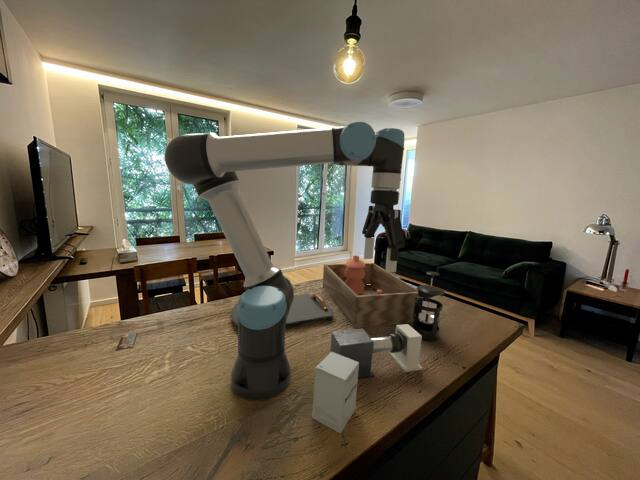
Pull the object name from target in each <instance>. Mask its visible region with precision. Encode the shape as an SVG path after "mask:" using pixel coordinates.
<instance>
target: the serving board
mask: <svg viewBox="0 0 640 480" xmlns="http://www.w3.org/2000/svg"><path fill="white" fill-rule="evenodd" d="M237 306H238V302H236V303H235V304H234V305H233V307H232V309H231V313H230V317H231V320H232V322H233V323H234V325H236V327H238V317H237ZM333 316H334V312H333V309H332V307H331V306H330V304H329V303H328V302H326V301H325V300H324V299H323V297H322V296H321V295H320V294H318V293H315V294H310V293H305V294H298V295H295V294H294V298H293V302H292V305H291V308H290V311H289V314H288V317H287V320H286V325H285V326H288V325H293V324H298V323H305V322H310V321H316V320H320V319H325V320H327V321H328V320H329V321H330V320H331V319H332V317H333Z"/></svg>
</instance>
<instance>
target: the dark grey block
mask: <svg viewBox="0 0 640 480" xmlns="http://www.w3.org/2000/svg"><path fill="white" fill-rule="evenodd" d="M371 338H372V337H370V336H369V334H368V333H367V332H366V331H365V329H363V328H353V329H344V330H334V331H331V338H330V339H331V340H330V352H334V353H336V354H339V355H341V356H344V357H347V358H349V359H352V360H354V361H357V362H359V370H358V380H363V379H370V378H375V376H376V375H375V373H374V371H373V370H372V363H373V354H374V353H373V343H374V342H373V340H372V339H371Z"/></svg>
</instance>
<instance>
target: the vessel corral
mask: <svg viewBox="0 0 640 480" xmlns="http://www.w3.org/2000/svg"><path fill="white" fill-rule="evenodd" d="M364 263H365V262H364ZM346 268H347V266H346V263H332V264H328V263H327V264H323V271H322V272H323V274H322V288H323V287H324V288H325V290H326V291H327V292H326V291H325V290H324V291H325V292H326V294H327V293H328V294H329V295H328V294H327V295H328V296H329V298H330V297H331V298H332V299H331V298H330V299H331V300H332V302H333V303H334V304H335V306H336V307H337V306H338V307H337V308H338V309H339V311H340V312H341V313H342V315H343V316H344V317H345V318H346V320H347V321H348V323H349V324H350V325H351V327H353V329H360V328H366V327H367V328H368V327H369V328H370V327H377V326H378V327H379V326H388V325H389V326H390V325H400V324H408V323H413V321H414V319H413V314H414V306H415V298H416V297H421V296H419V295H418V290H417V287H416V288H415V286H414V287H413V286H412V285H410V284H409V283H407V282H405V281H404V280H403V279H400V278H399V277H398V276H397V275H394V274H392V272H389V273H386V272H385V268H383V267H381V266H380V265H378V264H376V263H375V262H366V263H365V267H364V268H363V269H364V271H365V277H364V278H363V279H362V281H363V283H364V285H367V284H371V285H372V286H373V287H374V288H376V289H377V290H382V294H377V293H375V294H359V295H357V294H356V293H355V292H354V291H353V290H352V289H351V288H350V287H349V286H348V285H347V284H346V283H345V280H346V279H347V278H346V276H345V274H344V271H345V269H346ZM372 286H371V287H372ZM373 287H372V288H373ZM324 288H323V289H324ZM374 288H373V289H374ZM376 289H375V290H376ZM377 290H376V291H377ZM421 298H423V297H421Z"/></svg>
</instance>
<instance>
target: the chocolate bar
mask: <svg viewBox="0 0 640 480" xmlns="http://www.w3.org/2000/svg"><path fill="white" fill-rule="evenodd" d="M138 334H139V332H138V333H137V332H131V333H127V334H121V337H120V339H119V342H118V344H117V346H116V348H115V352H117V351H121V350H122V351H123V350H130V349H134V347H135V345H136V344H135V343H136V340H137V336H138Z"/></svg>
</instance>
